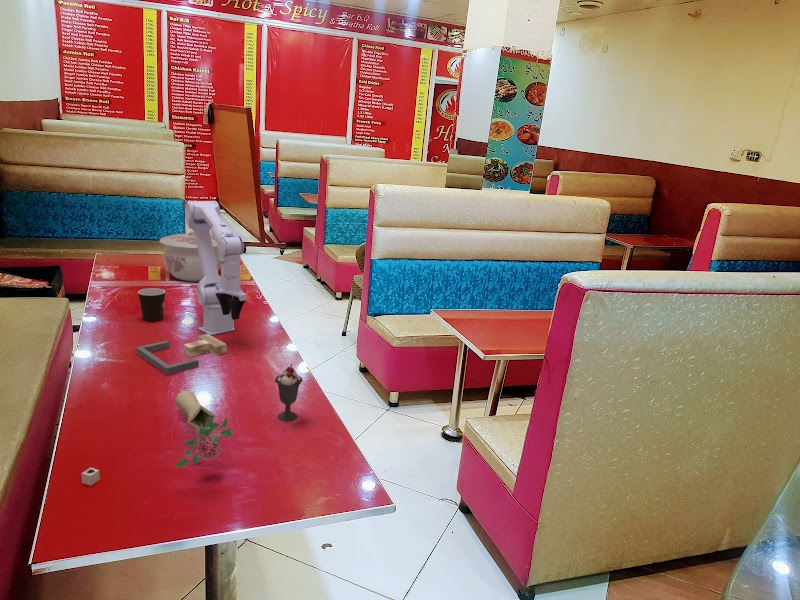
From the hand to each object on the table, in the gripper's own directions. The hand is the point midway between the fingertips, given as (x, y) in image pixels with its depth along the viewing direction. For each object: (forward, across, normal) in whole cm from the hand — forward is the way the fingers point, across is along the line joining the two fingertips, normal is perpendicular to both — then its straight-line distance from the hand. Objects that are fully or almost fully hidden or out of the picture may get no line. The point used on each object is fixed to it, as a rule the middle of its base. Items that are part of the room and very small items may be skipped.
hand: (230, 316), depth 180 cm
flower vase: (+10, +46, -37) cm, 60 cm away
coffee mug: (+10, -36, -8) cm, 38 cm away
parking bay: (+9, 0, -21) cm, 23 cm away
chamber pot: (+10, -77, +30) cm, 83 cm away
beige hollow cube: (+10, +46, -59) cm, 75 cm away
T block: (+9, 0, -10) cm, 14 cm away
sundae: (+10, +49, -14) cm, 52 cm away
